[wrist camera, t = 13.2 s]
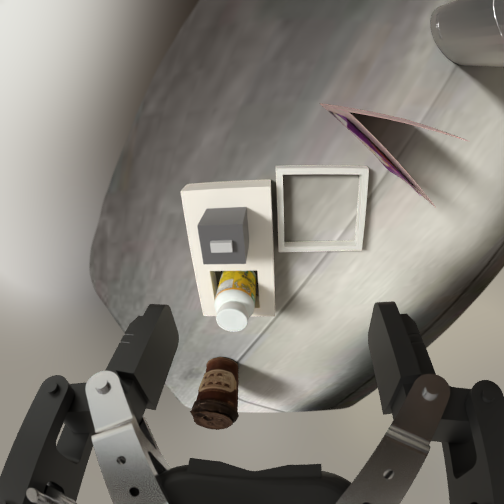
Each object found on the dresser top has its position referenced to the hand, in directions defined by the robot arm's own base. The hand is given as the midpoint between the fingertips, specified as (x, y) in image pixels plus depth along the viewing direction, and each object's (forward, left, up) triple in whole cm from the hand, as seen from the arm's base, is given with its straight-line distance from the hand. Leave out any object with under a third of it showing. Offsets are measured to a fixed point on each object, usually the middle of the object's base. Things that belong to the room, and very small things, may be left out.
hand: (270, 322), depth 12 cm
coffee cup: (+11, +39, -29) cm, 50 cm away
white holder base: (+6, +13, -29) cm, 32 cm away
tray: (-6, +7, -29) cm, 31 cm away
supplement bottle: (+6, +18, -29) cm, 35 cm away
